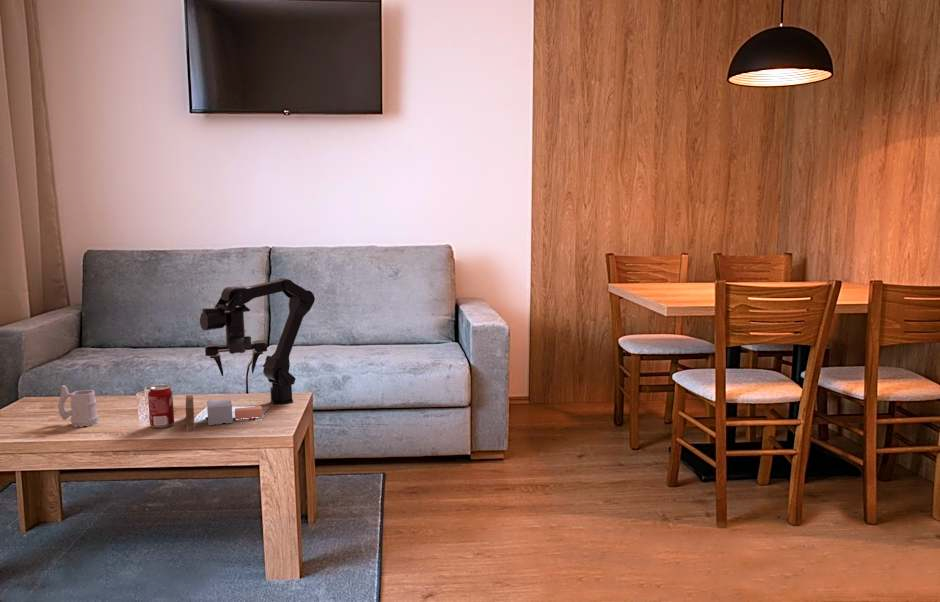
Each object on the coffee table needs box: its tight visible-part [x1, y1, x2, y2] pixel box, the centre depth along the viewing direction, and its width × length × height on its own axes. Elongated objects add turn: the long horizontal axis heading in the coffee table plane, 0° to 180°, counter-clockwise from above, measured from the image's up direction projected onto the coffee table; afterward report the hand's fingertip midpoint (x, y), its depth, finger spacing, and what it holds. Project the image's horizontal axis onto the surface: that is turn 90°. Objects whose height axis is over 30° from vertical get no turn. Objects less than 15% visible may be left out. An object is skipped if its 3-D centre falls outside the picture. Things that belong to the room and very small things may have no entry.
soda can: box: [147, 384, 175, 429], centre depth 217 cm, size 7×7×12 cm
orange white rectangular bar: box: [234, 405, 263, 420], centre depth 226 cm, size 8×3×3 cm, turn 110°
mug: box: [57, 384, 100, 428], centre depth 220 cm, size 8×12×12 cm, turn 87°
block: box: [206, 398, 234, 426], centre depth 223 cm, size 7×9×5 cm
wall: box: [185, 394, 195, 432], centre depth 219 cm, size 2×16×7 cm, turn 21°
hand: (237, 374), depth 233 cm, fingers open, 9 cm apart
